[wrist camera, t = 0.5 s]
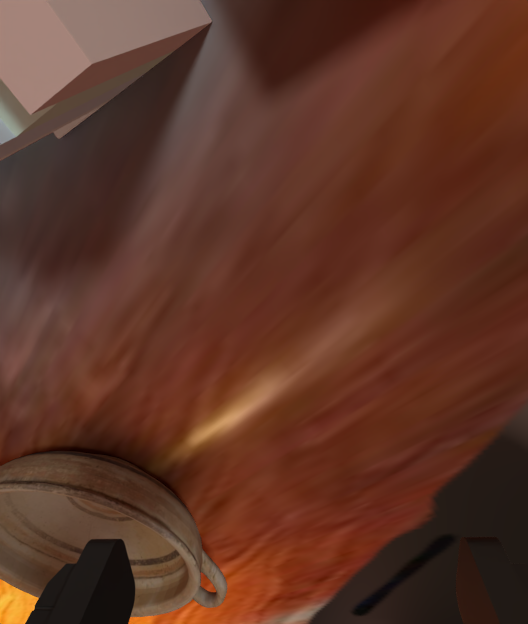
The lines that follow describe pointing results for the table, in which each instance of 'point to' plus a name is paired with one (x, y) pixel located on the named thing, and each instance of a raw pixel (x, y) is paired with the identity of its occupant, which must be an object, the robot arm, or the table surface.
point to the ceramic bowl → (101, 527)
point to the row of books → (79, 58)
